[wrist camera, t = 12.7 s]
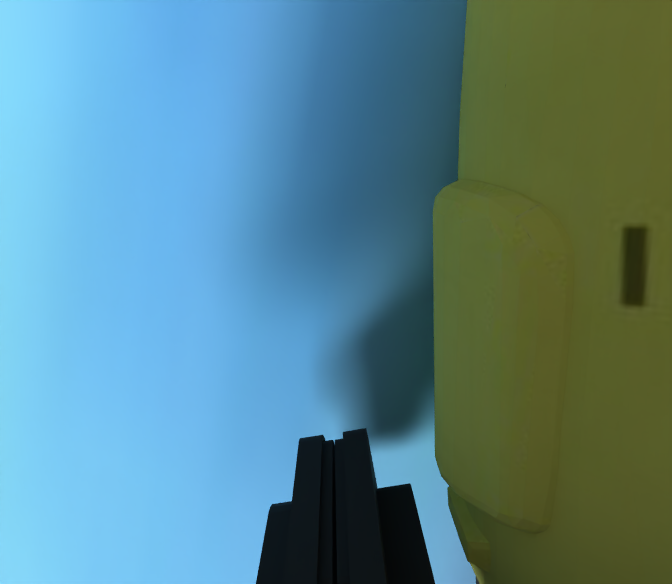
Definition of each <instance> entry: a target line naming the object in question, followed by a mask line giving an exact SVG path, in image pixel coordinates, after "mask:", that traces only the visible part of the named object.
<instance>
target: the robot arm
mask: <svg viewBox="0 0 672 584" xmlns="http://www.w3.org/2000/svg"><path fill="white" fill-rule="evenodd" d="M256 584H435V581H434V577H433V573H432V569H431V565H430V561H429V557H428V553H427V549H426V544H425V540H424V536H423V532H422V528H421V524H420V520H419V516H418V512H417V508H416V504H415V500H414V496H413V491H412V488H411V484H403V485H397V486H391V487H384V488H378V489H377V483H376V478H375V472H374V467H373V462H372V456H371V451H370V445H369V440H368V435H367V430H366V428H364V429H358V430H352V431H346V432H343V439H338V440H335V445H334V441H333V440H329V441H325V438H324V436H323V435H319V436H312V437H306V438H300V439H299V445H298V454H297V462H296V471H295V480H294V488H293V497H292V501H291V502H284V503H278V504H272V505H271V507H270V510H269V514H268V519H267V525H266V530H265V536H264V542H263V547H262V553H261V558H260V564H259V570H258V575H257V581H256Z"/></svg>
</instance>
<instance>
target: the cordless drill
mask: <svg viewBox="0 0 672 584" xmlns="http://www.w3.org/2000/svg"><path fill="white" fill-rule="evenodd" d="M433 291H434V405H435V458H436V461H437V465H438V468H439V471H440V474H441V476H442V478H443V479H444V480H445V481H446V482H447V484H448V485H449V487H448V505H449V509H450V512H451V515H452V518H453V521H454V524H455V527H456V530H457V533H458V536H459V539H460V542H461V544H462V547H463V550H464V552H465V555H466V558H467V561H468V562H470V564H471V566H472V568H473V570H474V573H475V575H476V584H672V0H467V11H466V26H465V42H464V57H463V73H462V88H461V103H460V122H459V156H458V180H457V181H455V182H453V183H451V184H449V185H447V186H445V187H443V188H442V189H441V191H440V192H439V193H438V194H437V195H436V197H435V201H434V207H433Z"/></svg>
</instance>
